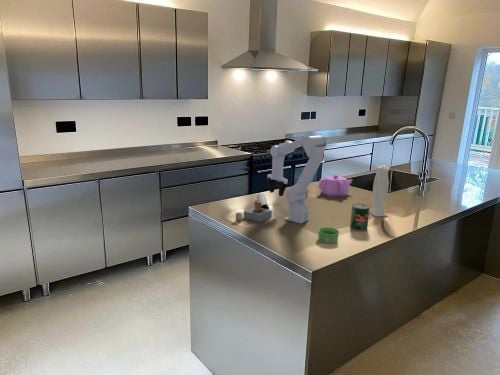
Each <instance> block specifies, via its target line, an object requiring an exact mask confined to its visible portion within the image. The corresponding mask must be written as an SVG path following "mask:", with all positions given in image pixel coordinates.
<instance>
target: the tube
mask: <svg viewBox="0 0 500 375" xmlns="http://www.w3.org/2000/svg"><path fill="white" fill-rule="evenodd" d="M256 201H259V202H261V208H264V209H268V210H270V206H269V205H268V202H267V198H266V196H265V194H264V193H263V192H259V193H257V194H256Z"/></svg>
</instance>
